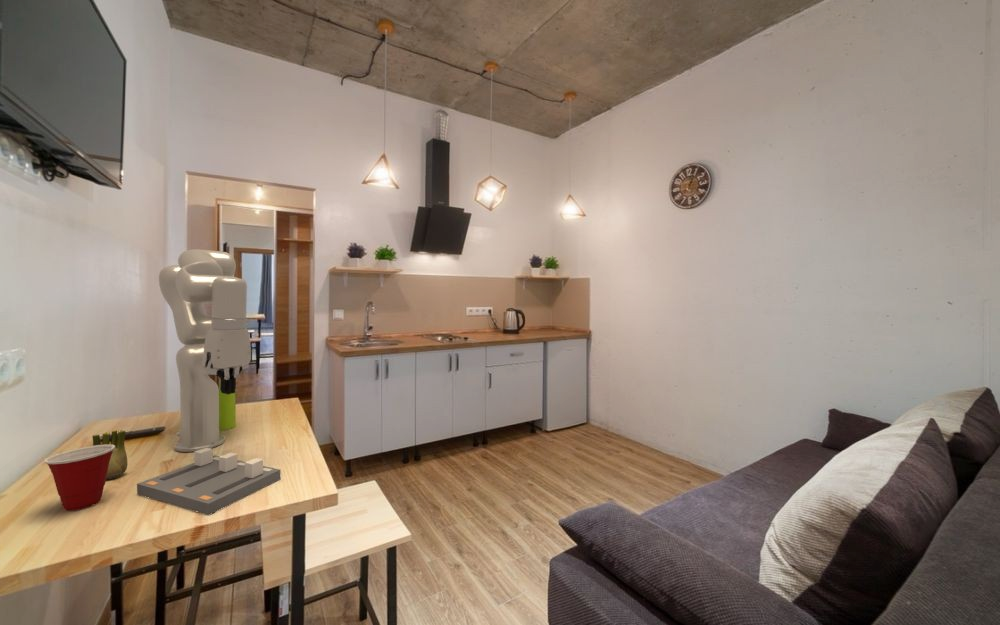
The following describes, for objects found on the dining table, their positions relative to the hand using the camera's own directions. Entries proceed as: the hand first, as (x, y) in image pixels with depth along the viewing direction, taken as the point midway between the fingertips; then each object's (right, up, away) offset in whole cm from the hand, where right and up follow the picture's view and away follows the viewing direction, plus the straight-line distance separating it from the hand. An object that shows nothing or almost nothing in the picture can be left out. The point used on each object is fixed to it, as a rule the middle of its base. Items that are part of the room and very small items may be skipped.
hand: (228, 392), depth 104 cm
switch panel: (+2, -22, -8) cm, 23 cm away
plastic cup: (-21, -22, -17) cm, 34 cm away
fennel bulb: (-27, -21, -4) cm, 34 cm away
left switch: (-6, -18, -1) cm, 19 cm away
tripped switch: (+3, -19, -4) cm, 19 cm away
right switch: (+11, -19, -7) cm, 23 cm away
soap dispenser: (-24, -20, +34) cm, 46 cm away
